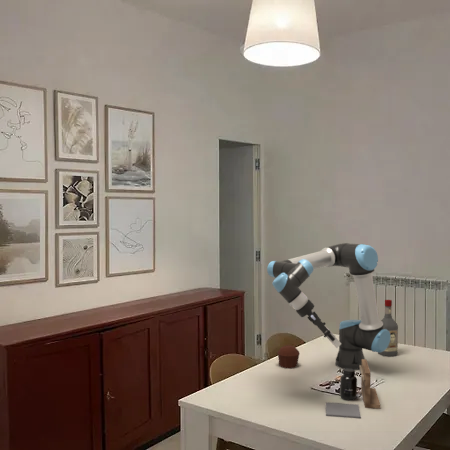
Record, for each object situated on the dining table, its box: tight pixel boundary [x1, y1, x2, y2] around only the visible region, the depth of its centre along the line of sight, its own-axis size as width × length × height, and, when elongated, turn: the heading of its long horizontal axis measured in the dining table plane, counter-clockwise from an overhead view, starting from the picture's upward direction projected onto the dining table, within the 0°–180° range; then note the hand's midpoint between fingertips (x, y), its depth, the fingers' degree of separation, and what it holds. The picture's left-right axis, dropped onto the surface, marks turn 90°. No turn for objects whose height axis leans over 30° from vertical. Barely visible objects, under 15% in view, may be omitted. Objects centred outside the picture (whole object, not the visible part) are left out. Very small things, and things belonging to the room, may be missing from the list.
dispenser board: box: [359, 358, 381, 409], centre depth 224 cm, size 7×20×14 cm, turn 170°
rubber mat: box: [325, 401, 362, 419], centre depth 211 cm, size 13×13×1 cm
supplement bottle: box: [339, 368, 358, 401], centre depth 225 cm, size 7×7×12 cm
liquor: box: [377, 299, 399, 358], centre depth 293 cm, size 9×9×30 cm
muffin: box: [276, 345, 300, 369], centre depth 271 cm, size 12×11×10 cm
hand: (336, 342), depth 225 cm, fingers open, 13 cm apart
